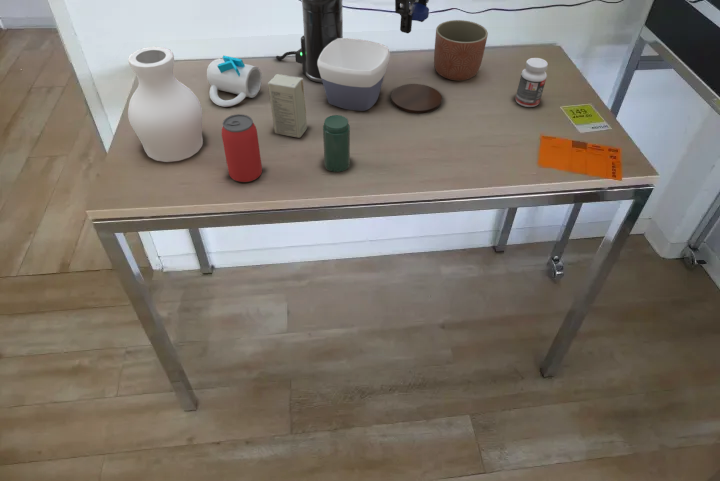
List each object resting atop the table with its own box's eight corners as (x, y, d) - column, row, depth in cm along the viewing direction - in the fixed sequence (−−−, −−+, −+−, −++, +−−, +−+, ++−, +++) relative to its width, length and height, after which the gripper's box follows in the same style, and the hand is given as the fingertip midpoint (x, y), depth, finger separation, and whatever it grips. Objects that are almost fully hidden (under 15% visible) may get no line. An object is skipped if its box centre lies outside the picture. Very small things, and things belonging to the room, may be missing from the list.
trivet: (381, 104, 131) (381, 101, 131) (404, 82, 139) (404, 79, 138) (428, 118, 127) (428, 115, 127) (449, 95, 135) (449, 92, 134)
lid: (433, 19, 114) (434, 11, 113) (409, 22, 112) (410, 14, 111) (417, 8, 118) (418, 1, 117) (394, 11, 115) (395, 4, 114)
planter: (446, 56, 149) (452, 15, 141) (488, 70, 144) (496, 28, 136) (422, 74, 141) (426, 32, 134) (465, 90, 136) (472, 47, 129)
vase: (149, 125, 124) (123, 37, 109) (214, 126, 124) (197, 39, 110) (130, 164, 114) (99, 74, 99) (200, 165, 114) (180, 75, 99)
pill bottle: (539, 109, 131) (550, 70, 124) (514, 106, 132) (524, 67, 125) (539, 96, 135) (549, 58, 128) (515, 94, 136) (524, 55, 129)
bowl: (375, 121, 126) (376, 75, 118) (311, 108, 130) (309, 63, 122) (393, 88, 137) (396, 44, 129) (334, 77, 140) (333, 33, 132)
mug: (207, 43, 130) (253, 53, 127) (221, 70, 138) (264, 80, 135) (184, 83, 126) (230, 95, 123) (200, 108, 134) (244, 119, 131)
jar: (319, 166, 114) (317, 124, 107) (332, 153, 117) (331, 111, 110) (341, 175, 112) (340, 132, 105) (354, 161, 116) (354, 118, 108)
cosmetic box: (307, 128, 124) (304, 77, 115) (300, 139, 121) (296, 88, 112) (281, 122, 125) (276, 72, 117) (272, 133, 122) (267, 82, 114)
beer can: (230, 164, 114) (221, 112, 106) (263, 162, 115) (256, 111, 106) (227, 184, 110) (217, 132, 101) (261, 183, 110) (254, 131, 102)
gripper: (421, -47, 99) (413, 44, 111) (454, -69, 108) (443, 18, 120) (384, -55, 102) (380, 34, 114) (419, -76, 110) (412, 10, 122)
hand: (412, 25), depth 117 cm, fingers closed on lid, 6 cm apart
